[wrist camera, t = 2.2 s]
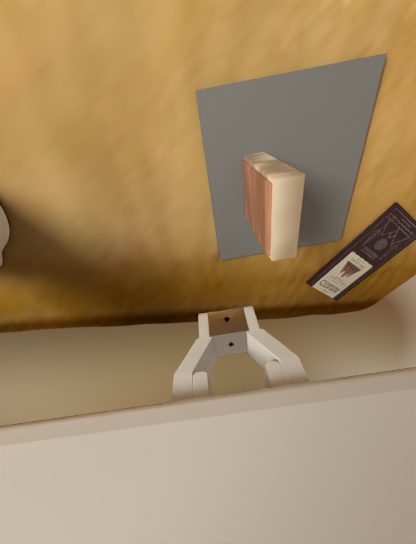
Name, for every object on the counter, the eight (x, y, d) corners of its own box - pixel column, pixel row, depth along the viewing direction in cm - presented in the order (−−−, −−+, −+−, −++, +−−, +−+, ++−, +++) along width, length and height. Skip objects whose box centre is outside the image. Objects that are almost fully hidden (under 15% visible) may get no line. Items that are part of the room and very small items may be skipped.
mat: (219, 258, 37) (220, 260, 36) (195, 91, 23) (195, 90, 23) (338, 238, 36) (340, 240, 35) (382, 54, 23) (386, 53, 22)
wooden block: (244, 216, 32) (268, 261, 22) (241, 156, 27) (270, 180, 17) (263, 213, 32) (295, 257, 22) (263, 151, 27) (305, 174, 17)
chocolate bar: (425, 231, 36) (336, 300, 44) (421, 228, 36) (334, 297, 45) (398, 203, 32) (307, 283, 41) (393, 201, 33) (305, 280, 42)
